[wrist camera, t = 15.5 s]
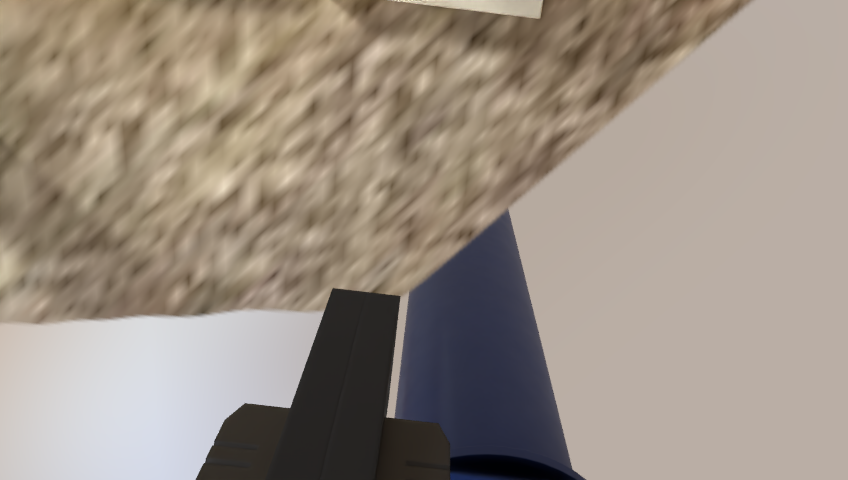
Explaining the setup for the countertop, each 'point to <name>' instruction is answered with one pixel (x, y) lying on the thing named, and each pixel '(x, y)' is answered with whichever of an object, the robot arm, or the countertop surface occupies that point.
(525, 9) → the hob console
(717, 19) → the countertop surface
